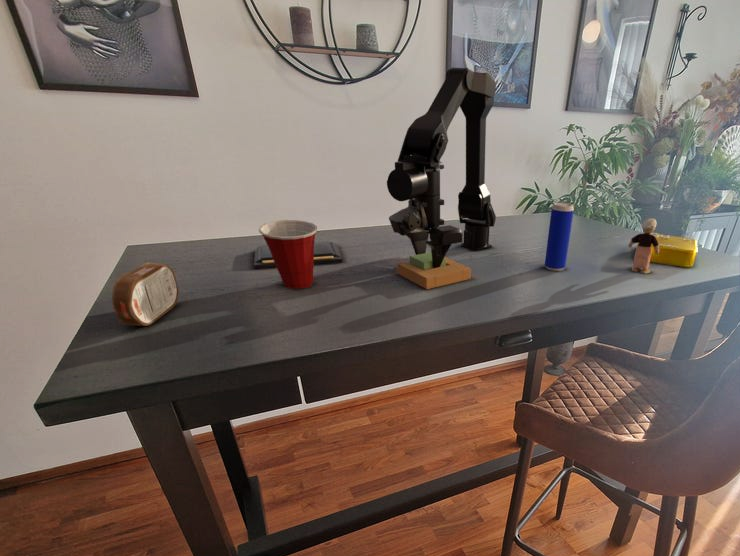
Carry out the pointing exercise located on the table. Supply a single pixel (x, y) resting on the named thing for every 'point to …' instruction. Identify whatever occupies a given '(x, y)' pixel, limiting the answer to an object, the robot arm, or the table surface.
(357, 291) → the table surface
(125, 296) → the tin
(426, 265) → the green pad
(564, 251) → the beverage can
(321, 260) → the wallet
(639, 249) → the grandmother figurine
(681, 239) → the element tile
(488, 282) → the table surface
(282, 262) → the plastic cup
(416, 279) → the wooden block
